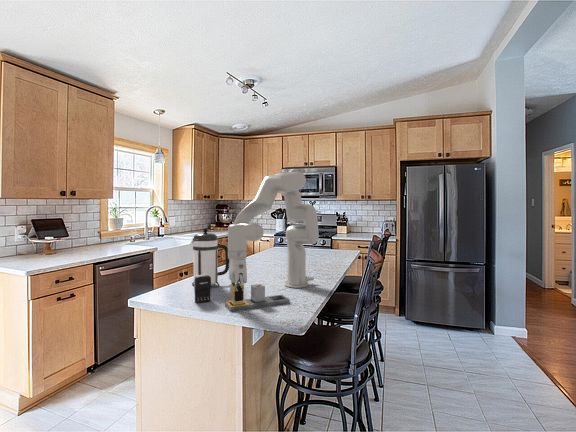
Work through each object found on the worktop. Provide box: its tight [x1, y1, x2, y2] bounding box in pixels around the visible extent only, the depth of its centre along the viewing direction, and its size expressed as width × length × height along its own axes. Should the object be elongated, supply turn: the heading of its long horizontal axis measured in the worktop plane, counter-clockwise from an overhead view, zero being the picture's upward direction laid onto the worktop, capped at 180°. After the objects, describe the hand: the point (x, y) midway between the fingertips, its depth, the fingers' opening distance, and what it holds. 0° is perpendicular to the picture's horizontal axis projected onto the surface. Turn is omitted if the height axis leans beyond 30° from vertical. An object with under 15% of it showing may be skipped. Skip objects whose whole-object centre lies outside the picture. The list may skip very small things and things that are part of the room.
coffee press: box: [189, 227, 230, 288], centre depth 166 cm, size 17×16×30 cm
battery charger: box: [193, 275, 212, 303], centre depth 139 cm, size 7×4×11 cm, turn 117°
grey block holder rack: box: [224, 294, 291, 312], centre depth 135 cm, size 26×8×2 cm, turn 116°
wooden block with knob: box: [229, 283, 245, 306], centre depth 131 cm, size 4×4×8 cm
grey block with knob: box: [250, 283, 266, 303], centre depth 135 cm, size 4×4×8 cm
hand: (237, 298), depth 131 cm, fingers closed on wooden block with knob, 4 cm apart
